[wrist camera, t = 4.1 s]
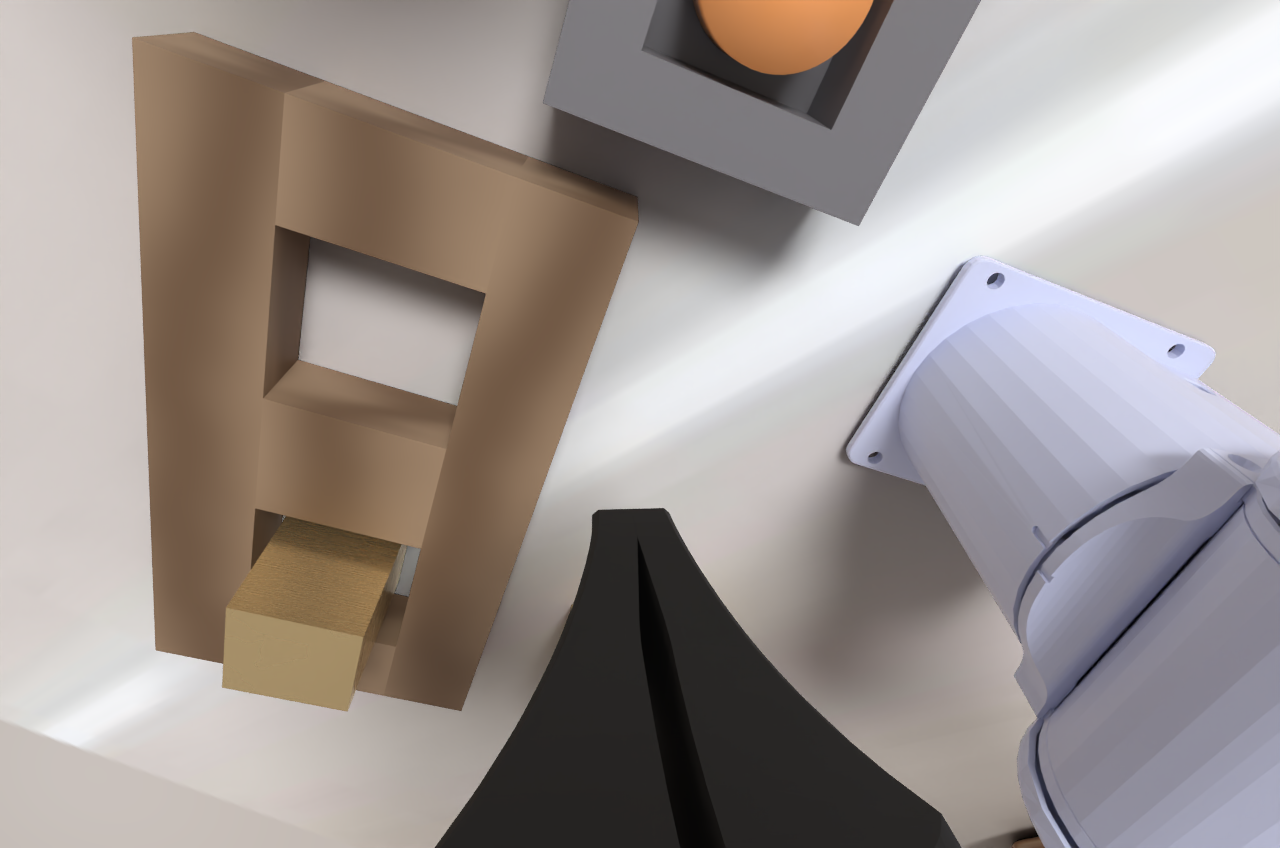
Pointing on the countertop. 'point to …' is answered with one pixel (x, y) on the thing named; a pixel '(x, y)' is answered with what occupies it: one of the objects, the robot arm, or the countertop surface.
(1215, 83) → the countertop surface
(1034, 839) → the tin
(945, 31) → the button housing
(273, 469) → the wooden socket board
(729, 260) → the countertop surface
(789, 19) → the button
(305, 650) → the block
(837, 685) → the countertop surface
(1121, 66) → the countertop surface
